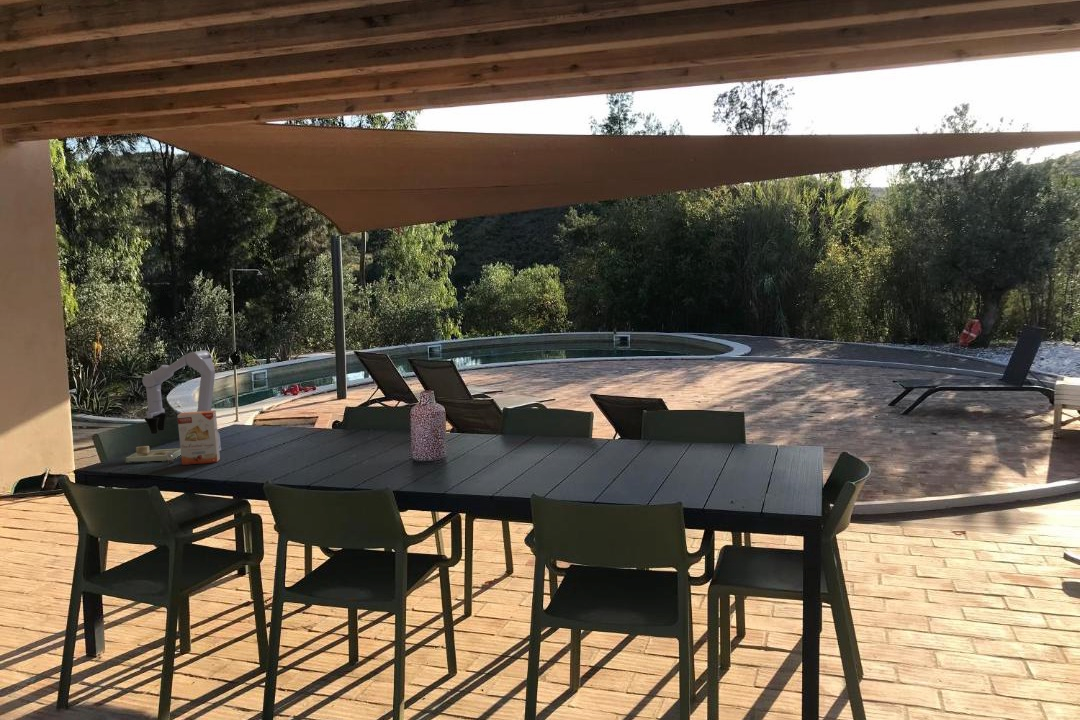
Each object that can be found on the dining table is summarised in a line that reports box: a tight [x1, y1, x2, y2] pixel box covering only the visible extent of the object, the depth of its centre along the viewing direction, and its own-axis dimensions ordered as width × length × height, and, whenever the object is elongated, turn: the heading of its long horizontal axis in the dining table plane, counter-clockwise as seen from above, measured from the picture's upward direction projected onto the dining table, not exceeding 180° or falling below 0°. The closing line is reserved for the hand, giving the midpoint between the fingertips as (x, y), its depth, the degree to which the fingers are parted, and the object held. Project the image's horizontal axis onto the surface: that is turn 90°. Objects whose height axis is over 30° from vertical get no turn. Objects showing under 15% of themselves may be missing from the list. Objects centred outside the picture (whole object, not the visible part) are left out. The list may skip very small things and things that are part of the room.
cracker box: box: [177, 410, 221, 466], centre depth 358 cm, size 14×6×21 cm, turn 99°
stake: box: [166, 451, 174, 464], centre depth 360 cm, size 2×4×5 cm, turn 3°
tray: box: [124, 447, 181, 463], centre depth 372 cm, size 19×14×2 cm
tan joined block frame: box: [135, 445, 174, 457], centre depth 372 cm, size 14×9×5 cm, turn 92°
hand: (157, 431), depth 384 cm, fingers open, 7 cm apart
